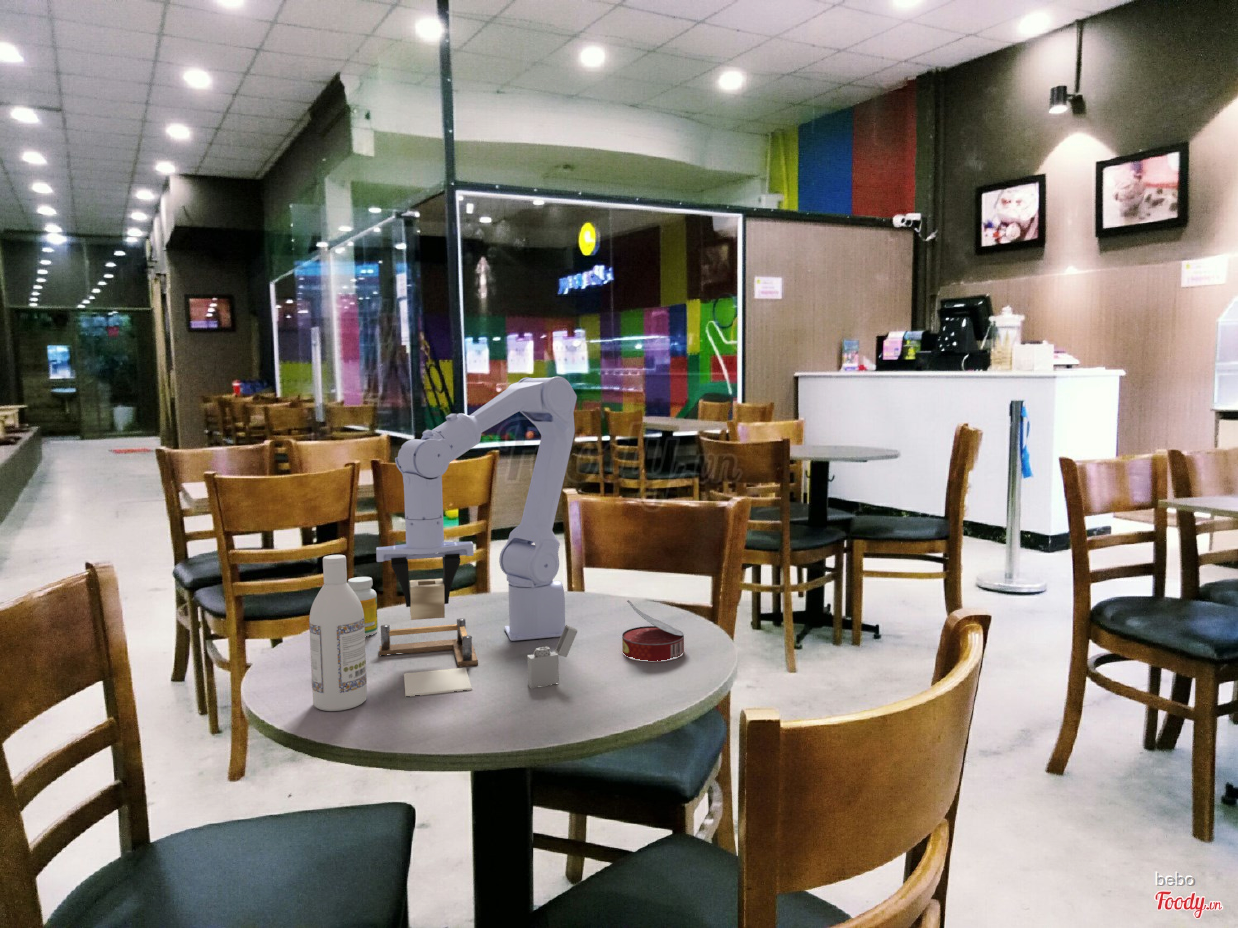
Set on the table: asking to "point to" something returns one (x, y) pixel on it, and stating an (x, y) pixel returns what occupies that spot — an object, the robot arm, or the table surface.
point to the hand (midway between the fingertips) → (427, 603)
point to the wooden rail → (432, 642)
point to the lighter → (549, 660)
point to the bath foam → (337, 641)
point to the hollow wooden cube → (427, 599)
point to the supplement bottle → (366, 602)
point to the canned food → (652, 640)
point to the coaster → (436, 682)
